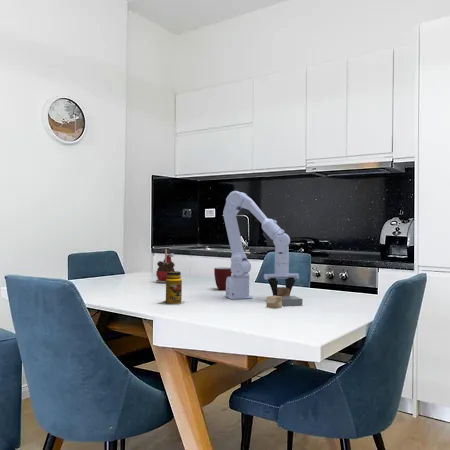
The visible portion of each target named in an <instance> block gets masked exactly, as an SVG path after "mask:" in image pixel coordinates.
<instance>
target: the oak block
mask: <svg viewBox="0 0 450 450" xmlns="http://www.w3.org/2000/svg"><path fill="white" fill-rule="evenodd" d="M266 308H270V309H273V310H275V309H281V308H283V306H282V297H279V296H273V295H269V296H266Z"/></svg>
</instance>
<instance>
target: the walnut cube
mask: <svg viewBox="0 0 450 450" xmlns="http://www.w3.org/2000/svg"><path fill="white" fill-rule="evenodd" d="M277 296H291V292H290V289H289V288H286V286H285V287H284V286H283V287H282V286H281V287H280V286H277Z"/></svg>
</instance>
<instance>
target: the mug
mask: <svg viewBox="0 0 450 450" xmlns="http://www.w3.org/2000/svg"><path fill="white" fill-rule="evenodd" d="M213 270H214V281H215V285H216V287H217V289H218V291H226V279H227V277H231V276H232V274H233V273H232V272H231V267H222V266H221V267H214V269H213Z"/></svg>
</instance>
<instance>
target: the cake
mask: <svg viewBox="0 0 450 450" xmlns="http://www.w3.org/2000/svg"><path fill="white" fill-rule="evenodd" d="M172 257H175V253H168V247H164V259H163V261H162V260H161V261H160V260H159V261H158V262H157V263H156V265H157V266H158V268H157V270H156V274H155V275H156V277H157V278H156V283H160V284H166V279H167V272H170V271H175V268H174V267H175V263H174V262H173V261H172Z"/></svg>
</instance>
